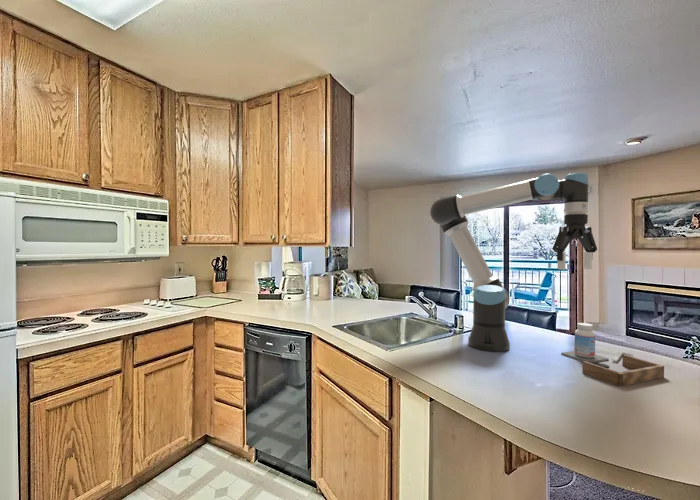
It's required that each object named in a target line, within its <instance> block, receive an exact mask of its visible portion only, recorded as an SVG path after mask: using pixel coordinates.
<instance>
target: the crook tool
mask: <svg viewBox="0 0 700 500" xmlns="http://www.w3.org/2000/svg"><path fill="white" fill-rule="evenodd" d="M623 355H627V356H631V357H633V356H634V353H629V352H626V351H625V352H624V351H618V352H617V353H616V354H615V355H614V356H613V357H612V359H611V360H612V361H611V362H612V363H615V364H617V363H618V362H619V361H620V359H621V358H622V357H623ZM621 356H622V357H621Z"/></svg>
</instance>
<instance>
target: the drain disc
mask: <svg viewBox="0 0 700 500" xmlns="http://www.w3.org/2000/svg"><path fill="white" fill-rule="evenodd" d="M594 364H595V365H598V366H601V367H604V368H607V369H610V365H608V364H605V363H602V362H601V363H600V362H595V363H594Z"/></svg>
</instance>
